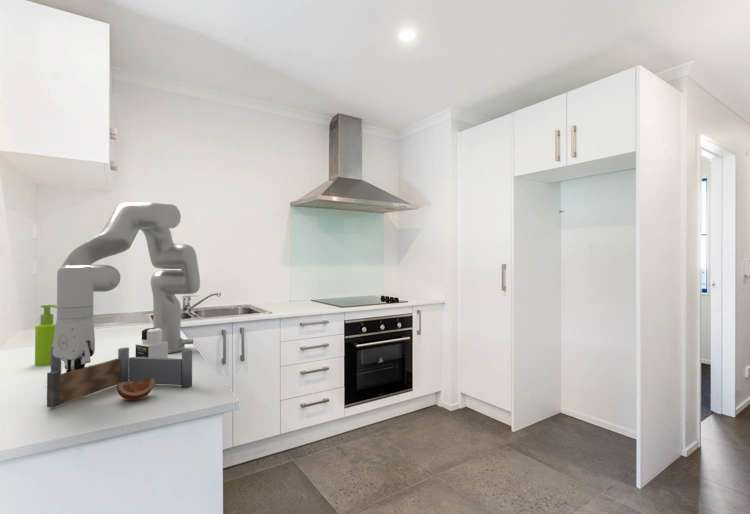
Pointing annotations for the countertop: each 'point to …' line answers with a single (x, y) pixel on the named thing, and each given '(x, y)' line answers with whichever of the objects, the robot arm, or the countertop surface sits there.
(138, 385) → the fruit slice
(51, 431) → the countertop surface
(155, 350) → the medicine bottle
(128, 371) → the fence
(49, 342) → the soap dispenser
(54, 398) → the gate
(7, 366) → the countertop surface
